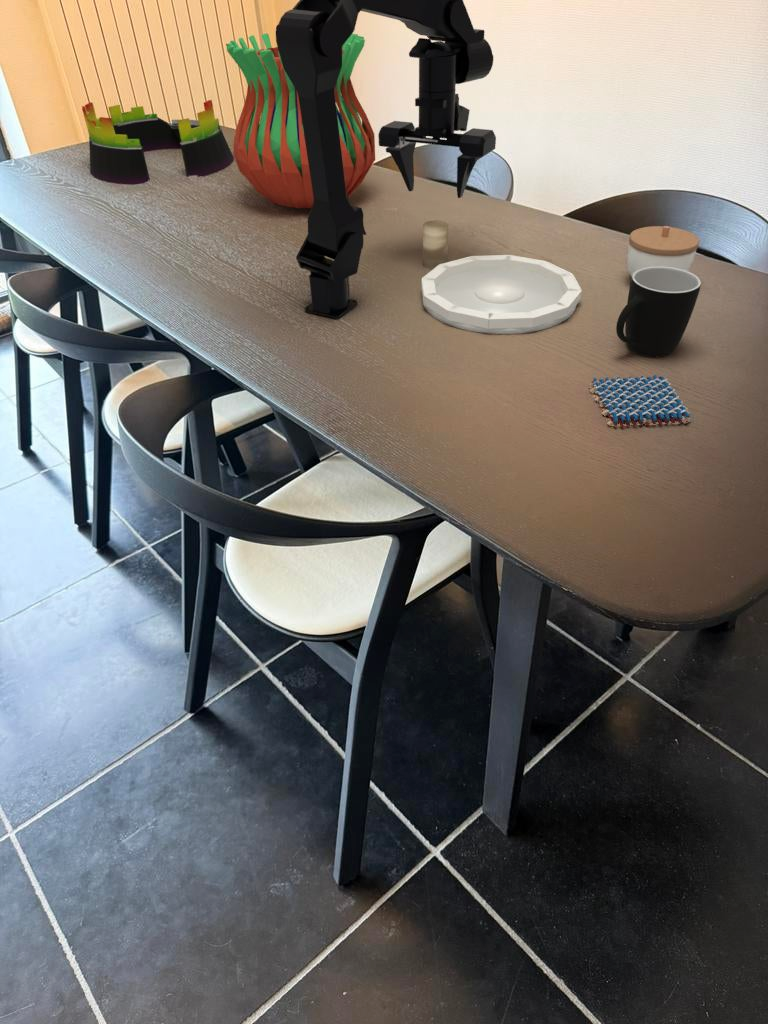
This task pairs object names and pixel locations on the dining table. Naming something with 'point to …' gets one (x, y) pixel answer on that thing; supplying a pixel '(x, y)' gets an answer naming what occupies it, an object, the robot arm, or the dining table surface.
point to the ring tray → (500, 294)
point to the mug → (657, 309)
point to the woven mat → (638, 401)
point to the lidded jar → (661, 248)
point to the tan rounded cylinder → (435, 243)
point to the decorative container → (152, 143)
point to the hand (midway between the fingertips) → (435, 194)
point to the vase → (293, 126)
